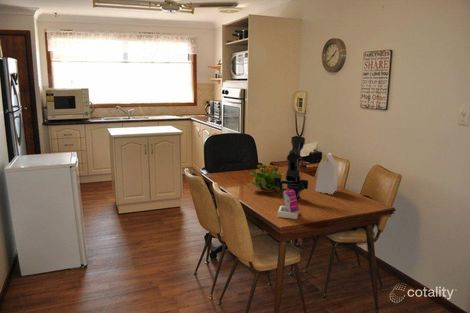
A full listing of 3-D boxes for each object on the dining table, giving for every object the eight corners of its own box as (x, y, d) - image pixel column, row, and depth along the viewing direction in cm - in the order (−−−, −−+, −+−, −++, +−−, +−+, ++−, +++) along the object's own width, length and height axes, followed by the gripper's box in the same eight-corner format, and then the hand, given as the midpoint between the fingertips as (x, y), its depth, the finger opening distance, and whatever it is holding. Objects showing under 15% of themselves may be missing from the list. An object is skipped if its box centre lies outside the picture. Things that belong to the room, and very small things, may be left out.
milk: (320, 187, 259) (323, 151, 254) (337, 190, 253) (340, 153, 248) (315, 191, 249) (318, 153, 244) (332, 194, 243) (335, 156, 238)
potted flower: (283, 197, 233) (284, 170, 229) (246, 194, 237) (247, 167, 234) (285, 187, 257) (287, 162, 253) (252, 184, 261) (253, 160, 258)
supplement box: (289, 213, 198) (284, 193, 196) (286, 210, 204) (281, 190, 202) (299, 210, 199) (294, 190, 197) (296, 207, 205) (291, 188, 203)
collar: (279, 210, 208) (280, 205, 208) (298, 212, 206) (298, 207, 205) (277, 216, 198) (277, 211, 198) (297, 219, 196) (297, 213, 195)
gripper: (275, 162, 203) (270, 187, 194) (309, 165, 198) (306, 190, 190) (276, 173, 212) (272, 197, 203) (309, 176, 207) (306, 201, 199)
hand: (289, 196), depth 198 cm, fingers closed on supplement box, 8 cm apart
